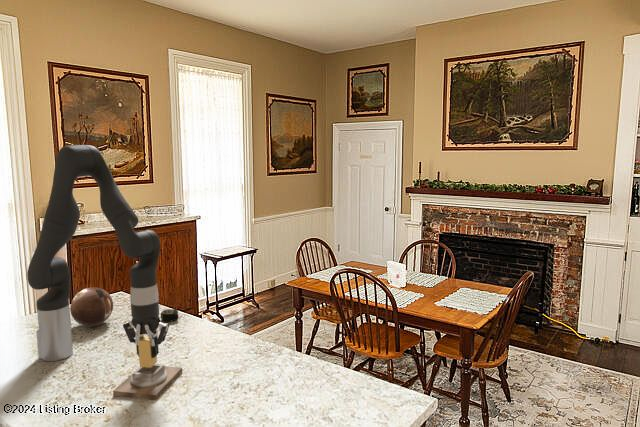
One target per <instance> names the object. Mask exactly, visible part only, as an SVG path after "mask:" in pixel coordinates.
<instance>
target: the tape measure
mask: <svg viewBox="0 0 640 427" xmlns="http://www.w3.org/2000/svg"><path fill="white" fill-rule="evenodd" d="M160 320H161V321H163V322H165V323H166V322H167V323H169V322H174V321H177V320H179V310H178V309H177V308H171V309H170V308H168V309H163V310H162V311H161V312H160Z"/></svg>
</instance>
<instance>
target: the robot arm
mask: <svg viewBox="0 0 640 427" xmlns="http://www.w3.org/2000/svg"><path fill="white" fill-rule="evenodd" d="M54 163H55V164H54V170H53V177H52V178H53V179H52V186H51V190H50V191H51V192H50V195H49V200H48V205H47V207H46V210H45V213H44V218H43V221H42V226H41V230H40V234H39V238H38V241H37V245H36V247H35V250H34V252H33V255H32V257H31V259H30V262H29V264H28V268H27V275H26V277H27V282H28V285H29V286H30V288H32V289H34V290H45V289H48V290H47V292H46V293H44V294H43V295H41V296H40V297H39V298H38V299H37V300H36V312H37V313H36V315H37V322H38V329H37V330H36V333H35V334H36V345H37V352H38V353H37V355H38V359H40V360H42V361H44V362H58V361H62V360H64V359H66V358H68V357H70V356H72V355H73V354H74V350H73V349H74V348H73V347H74V346H73V336H72V325H71V324H72V323H71V311H70V297H71V285H70V284H71V279H70V278H71V276H70V275H71V274H70V273H71V272H70V267H69V264H68V262H67V261H66V259H64V258H63V257H60V256H56V255H57V254H58V253H59V252H60V250H62V249H63V247H64V246H66V245H67V243H69V241H71V239H72V237H73V236H74V235H75V233H76V231H77V228H78V223H79V221H80V218H81V217H80V216H81V211H80V207H79V205H78V202H77V201H76V199H75V197H74V194H73V192H74V186H75V181H76V179H77V178H80V177H91V179H93V180H94V181H95V183H96V184H97V186H98V189H99V200H100V201H99V202H100V204H99V205H100V208H101V211H102V213H103V215H104V216H105V218H106V219H107V221H108V222H109V223H110V225H111V226H112V227H113V229H114V231H115V234H116V238H117V241H118V244H119V247H120V250H121V251H122V253H123V254H124V255H125V256H126V257H128V258H130V259H133V260H135V259H138V261H137V263H135V264H134V265H132V266H131V268H130V269H129V277H130V278H129V279H130V280H129V281H130V291H129V293H130V294H129V295H130V296H129V298H130V312H131V318H132V319H131V320H128V321H125V323H123V324H122V327H123V330H124V332H125V335H126V337H127V339H128V341H129V343H132V344H133V343H134V344H135V346H136V354H137V356H138V357H139V347H138V341H139V340H140V339H141V338H142V337H144V336H148V339H150V342H151V345H152V346H151V357H152V358H155V357H156V356H158V355H159V353H160V352H159V345H161V344H162V343H163V342H164V341H166V340H165V339H166V337H167V334H168V332H169V328H170V323H169V322H167V323H166V322H165V323H164V322H161V321H162V320H161V318H160V301H159V300H160V299H159V298H160V296H159V289H158V283H157V266H158V262H159V258H160V253H161V239H160V237H159V236H158V233H157V232H155V231H154V230H151V229H147V230H141V231H139V232H138V231H137V232H135V230H134V228H136V227H137V225H138V223H139V218H138V215H137V214H136V212H135V211H134V210H133V208H132V207H131V206H130V204H129V202H127V200H126V199H125V197H124V196H123V194H122V193H121V191H120V189H119V186H118V185H117V183H116V181H115V179H114V177H113V175H112V174H113V173H111V170H110V168H109V166H108V164H107V162H106V160H105V159H104V156H103V155H102V153H101V151H100V150H99V149H98V148H97V147H96V146H94V145H90V144H75V145H74V144H73V145H71V144H70V145H65V146H64V145H63V147H60V148H59V150H58V152H57V154H56V158H55V162H54ZM55 256H56V257H55ZM158 329H159V330H158ZM158 331H159V332H158Z"/></svg>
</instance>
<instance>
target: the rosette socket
mask: <svg viewBox="0 0 640 427" xmlns="http://www.w3.org/2000/svg"><path fill="white" fill-rule="evenodd" d="M182 373H183V367H181V366H180V367H178V366H166V365H165V364H158V363H155V364H154V365H153V366H152V367H151V368H150V367H140V366H139V367H138V368H137V369H136V370H135V371H134V372H133V373H132V374H130V375H129V376H128V377H127V378H126V379H125V380H124V381H123V382H121V384H119V385H118V386H117V387H115V388H114V389H113V391H112V395H113V397H121V398H123V397H124V398H133V399H140V400H141V399H144V400H151V401H152V400H153V401H154V400H155V401H156V400H158V399H159V397H161V396H162V394H164V392H165V391H166V390H167V389H168V388H169V387H170V386H171V385H172V384H173V383H174V382H175V381H176V379H178V378H179V376H180V375H181V374H182ZM172 382H173V383H172Z"/></svg>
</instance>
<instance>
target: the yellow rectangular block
mask: <svg viewBox="0 0 640 427" xmlns="http://www.w3.org/2000/svg"><path fill="white" fill-rule="evenodd" d="M151 346H152V345H151V342H150V339H148V335H144V337H142V338H141V339H140V340H139V341H138V347H139V356H138V357H139V358H138V359H139V367H150V368H151V367H152V366H153V365H154V364H157V362H158V357H157V356H158V355H157V356H156V357H155V358H152V357H151Z"/></svg>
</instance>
